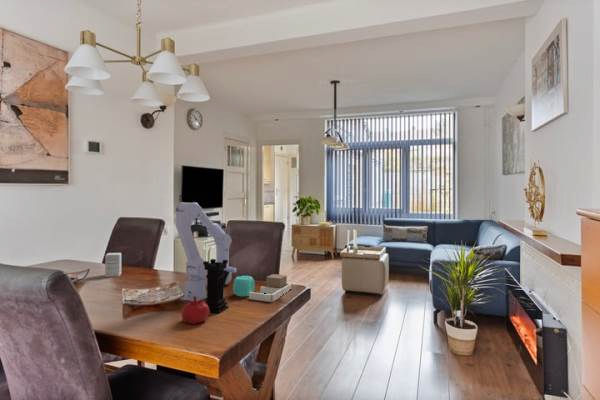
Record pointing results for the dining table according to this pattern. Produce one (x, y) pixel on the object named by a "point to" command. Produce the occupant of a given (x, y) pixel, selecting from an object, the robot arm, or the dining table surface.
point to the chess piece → (215, 285)
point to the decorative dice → (243, 285)
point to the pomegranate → (195, 311)
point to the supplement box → (113, 264)
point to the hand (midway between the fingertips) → (222, 285)
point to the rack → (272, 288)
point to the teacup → (228, 278)
